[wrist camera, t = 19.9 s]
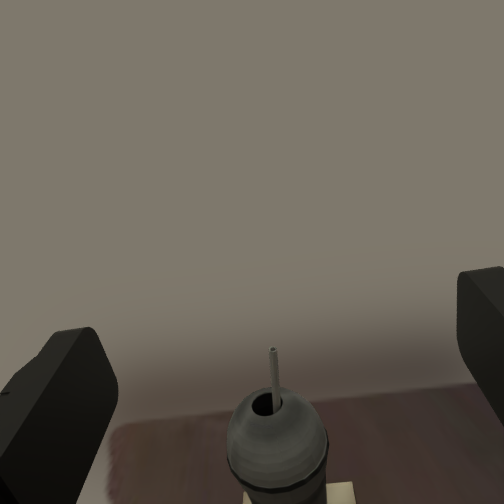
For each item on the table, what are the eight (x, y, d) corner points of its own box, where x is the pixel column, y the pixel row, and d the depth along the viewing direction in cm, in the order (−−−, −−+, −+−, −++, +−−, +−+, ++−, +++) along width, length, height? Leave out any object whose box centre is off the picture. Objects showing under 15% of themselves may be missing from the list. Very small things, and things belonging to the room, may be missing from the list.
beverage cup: (263, 497, 39) (211, 319, 30) (344, 499, 37) (314, 311, 29) (250, 589, 33) (181, 396, 24) (348, 595, 31) (311, 391, 23)
